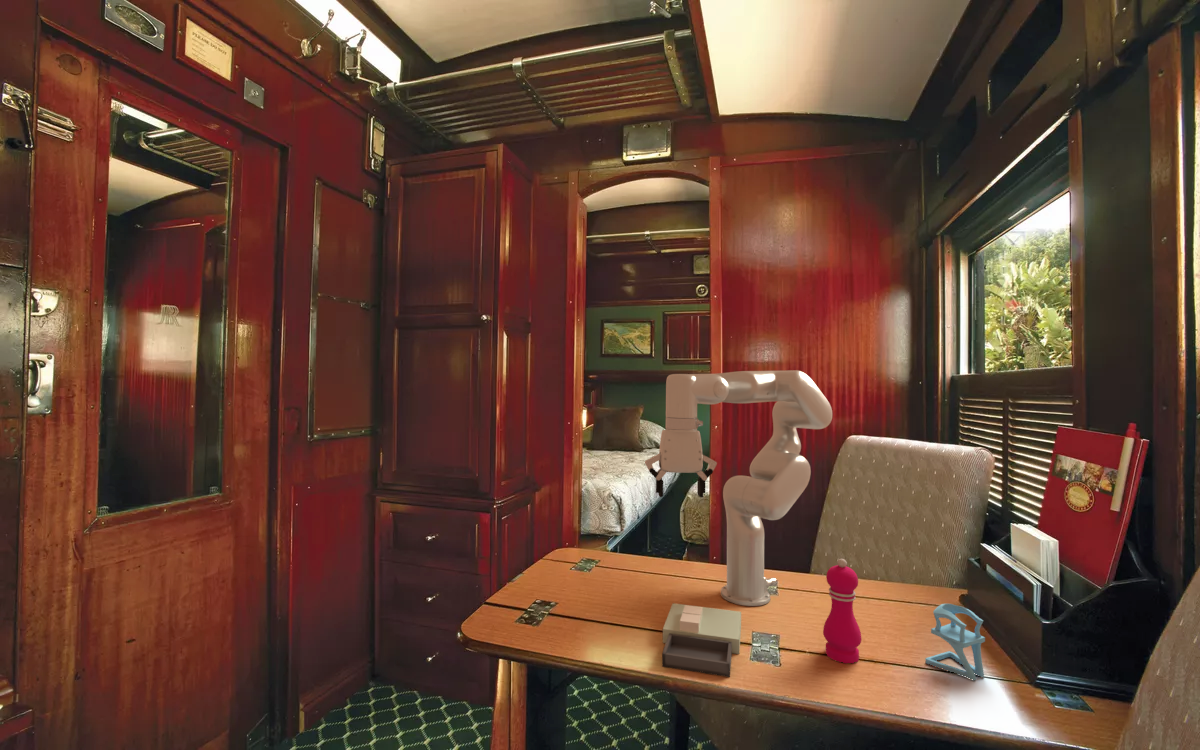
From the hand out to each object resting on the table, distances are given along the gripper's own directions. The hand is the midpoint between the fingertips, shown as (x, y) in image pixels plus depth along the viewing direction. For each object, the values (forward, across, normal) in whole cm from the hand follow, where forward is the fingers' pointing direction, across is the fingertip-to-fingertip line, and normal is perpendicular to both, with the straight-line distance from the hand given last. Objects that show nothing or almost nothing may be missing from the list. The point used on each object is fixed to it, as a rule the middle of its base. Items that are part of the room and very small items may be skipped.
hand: (680, 496), depth 128 cm
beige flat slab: (+29, -4, +8) cm, 30 cm away
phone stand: (+29, -51, +24) cm, 63 cm away
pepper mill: (+29, -30, +19) cm, 46 cm away
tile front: (+26, 0, +12) cm, 29 cm away
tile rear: (+26, -2, +8) cm, 27 cm away
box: (+29, 0, +20) cm, 35 cm away
